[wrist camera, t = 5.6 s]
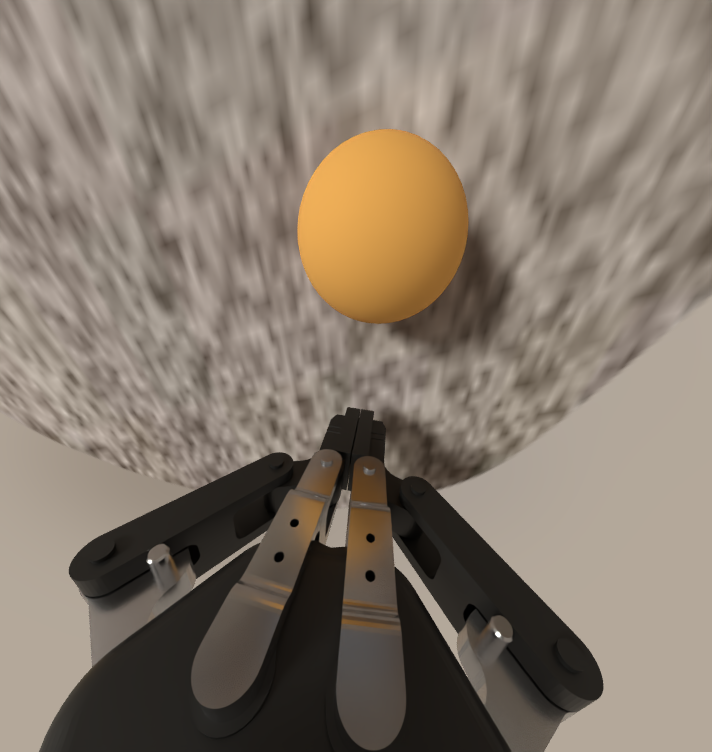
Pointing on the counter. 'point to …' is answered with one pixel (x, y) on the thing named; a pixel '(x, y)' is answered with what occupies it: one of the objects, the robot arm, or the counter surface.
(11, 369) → the counter surface
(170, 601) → the robot arm
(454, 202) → the ball
